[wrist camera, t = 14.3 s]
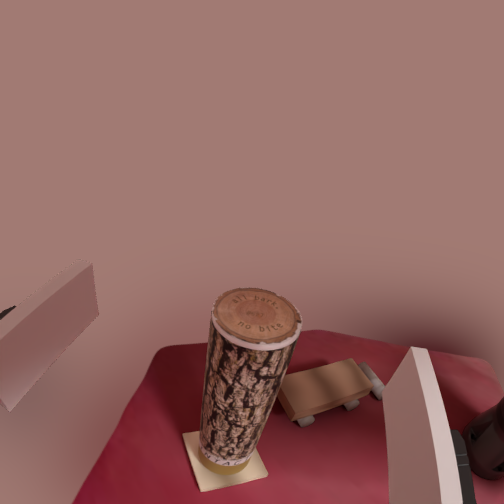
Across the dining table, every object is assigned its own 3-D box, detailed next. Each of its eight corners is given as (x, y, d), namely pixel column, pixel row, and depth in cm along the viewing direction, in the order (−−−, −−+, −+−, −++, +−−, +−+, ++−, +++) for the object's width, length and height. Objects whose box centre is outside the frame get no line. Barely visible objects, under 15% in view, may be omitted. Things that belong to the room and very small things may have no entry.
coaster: (243, 425, 39) (244, 422, 39) (266, 476, 32) (268, 473, 32) (182, 436, 36) (182, 433, 35) (200, 492, 29) (200, 489, 28)
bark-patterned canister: (203, 430, 37) (221, 280, 26) (251, 439, 36) (301, 296, 25) (193, 470, 30) (202, 333, 19) (246, 480, 30) (304, 352, 19)
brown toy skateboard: (361, 367, 54) (370, 349, 52) (385, 397, 47) (397, 380, 45) (267, 393, 46) (273, 375, 44) (289, 434, 39) (298, 418, 37)
